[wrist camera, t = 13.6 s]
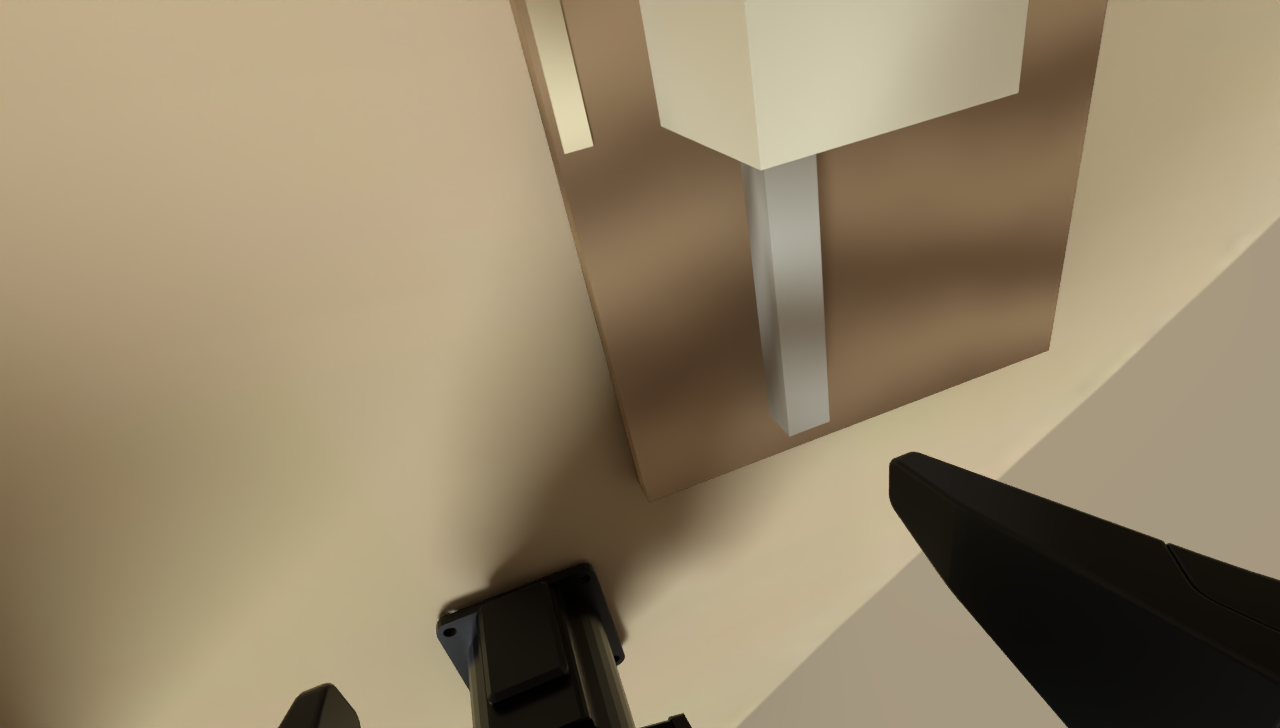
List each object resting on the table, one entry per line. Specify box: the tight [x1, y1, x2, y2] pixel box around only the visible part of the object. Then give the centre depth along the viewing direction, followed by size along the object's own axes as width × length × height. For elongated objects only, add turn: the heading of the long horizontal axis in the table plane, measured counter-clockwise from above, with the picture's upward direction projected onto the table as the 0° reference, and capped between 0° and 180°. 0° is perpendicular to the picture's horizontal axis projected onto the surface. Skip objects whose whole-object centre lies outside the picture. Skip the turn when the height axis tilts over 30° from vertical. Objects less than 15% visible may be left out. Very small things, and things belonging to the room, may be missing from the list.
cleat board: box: [510, 0, 1108, 502], centre depth 19 cm, size 24×18×3 cm
